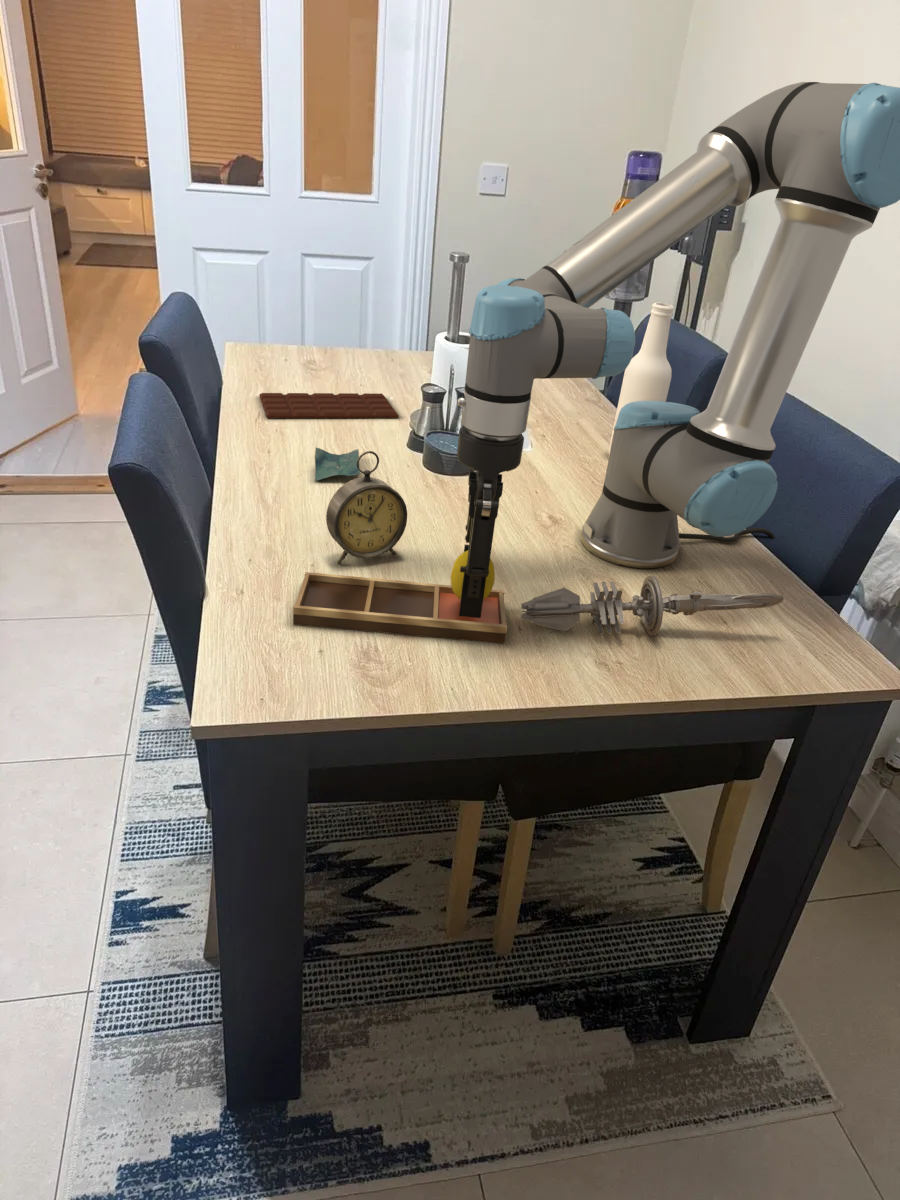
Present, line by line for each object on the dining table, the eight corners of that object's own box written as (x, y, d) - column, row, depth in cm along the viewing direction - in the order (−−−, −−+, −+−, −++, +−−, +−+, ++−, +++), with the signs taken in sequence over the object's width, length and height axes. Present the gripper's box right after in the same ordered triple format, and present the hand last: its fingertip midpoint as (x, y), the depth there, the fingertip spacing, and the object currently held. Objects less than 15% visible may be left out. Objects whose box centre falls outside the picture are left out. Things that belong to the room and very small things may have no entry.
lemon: (486, 619, 106) (495, 563, 102) (443, 610, 107) (450, 554, 103) (493, 598, 111) (501, 543, 107) (452, 590, 112) (459, 535, 108)
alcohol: (603, 461, 167) (635, 304, 152) (612, 448, 174) (644, 296, 159) (647, 471, 164) (684, 312, 149) (654, 457, 172) (691, 305, 156)
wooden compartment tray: (501, 606, 114) (504, 590, 113) (504, 643, 106) (507, 627, 105) (304, 588, 113) (305, 571, 112) (293, 624, 105) (293, 607, 104)
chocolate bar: (383, 397, 188) (383, 392, 187) (398, 417, 177) (398, 413, 176) (259, 396, 179) (259, 392, 179) (267, 418, 168) (267, 413, 168)
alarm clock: (334, 570, 118) (338, 461, 110) (321, 553, 122) (323, 447, 114) (405, 560, 123) (414, 454, 115) (390, 543, 127) (397, 440, 119)
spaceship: (803, 605, 106) (783, 556, 111) (528, 618, 104) (520, 568, 109) (781, 640, 113) (764, 593, 118) (522, 654, 110) (514, 605, 115)
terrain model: (360, 483, 145) (360, 473, 144) (314, 483, 144) (313, 472, 143) (358, 456, 156) (358, 446, 155) (315, 455, 155) (315, 446, 154)
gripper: (460, 401, 105) (442, 565, 117) (459, 455, 89) (438, 639, 101) (520, 408, 105) (496, 571, 117) (530, 462, 89) (501, 645, 101)
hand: (469, 602), depth 109 cm, fingers closed on lemon, 5 cm apart
